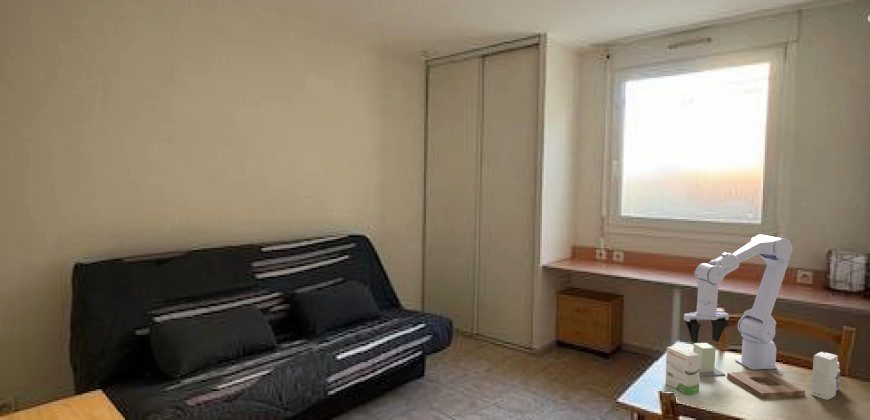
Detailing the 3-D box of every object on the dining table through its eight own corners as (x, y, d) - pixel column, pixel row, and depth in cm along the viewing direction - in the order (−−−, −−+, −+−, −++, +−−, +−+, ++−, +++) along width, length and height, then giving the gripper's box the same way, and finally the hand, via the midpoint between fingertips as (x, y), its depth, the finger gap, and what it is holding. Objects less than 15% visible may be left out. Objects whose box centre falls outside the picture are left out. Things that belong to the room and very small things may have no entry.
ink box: (699, 393, 146) (702, 354, 145) (686, 395, 144) (689, 356, 143) (676, 380, 154) (678, 344, 153) (664, 383, 152) (666, 346, 151)
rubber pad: (706, 364, 167) (706, 362, 167) (725, 375, 158) (725, 374, 158) (681, 365, 166) (681, 364, 166) (699, 376, 157) (699, 375, 157)
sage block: (704, 365, 164) (706, 342, 164) (714, 371, 160) (715, 347, 159) (692, 366, 164) (693, 343, 163) (701, 372, 159) (702, 348, 159)
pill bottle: (833, 392, 147) (836, 365, 146) (815, 386, 151) (817, 359, 150) (841, 389, 149) (844, 362, 148) (823, 382, 153) (825, 356, 152)
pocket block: (766, 375, 158) (767, 370, 158) (804, 395, 145) (805, 390, 144) (727, 377, 157) (727, 372, 156) (761, 398, 143) (761, 393, 143)
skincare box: (828, 400, 142) (831, 360, 141) (809, 394, 146) (813, 355, 144) (836, 395, 145) (839, 355, 144) (818, 389, 149) (821, 350, 148)
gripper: (694, 305, 155) (692, 346, 156) (736, 303, 157) (733, 344, 158) (680, 298, 162) (678, 338, 163) (721, 297, 164) (718, 337, 165)
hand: (704, 341), depth 161 cm, fingers open, 7 cm apart
